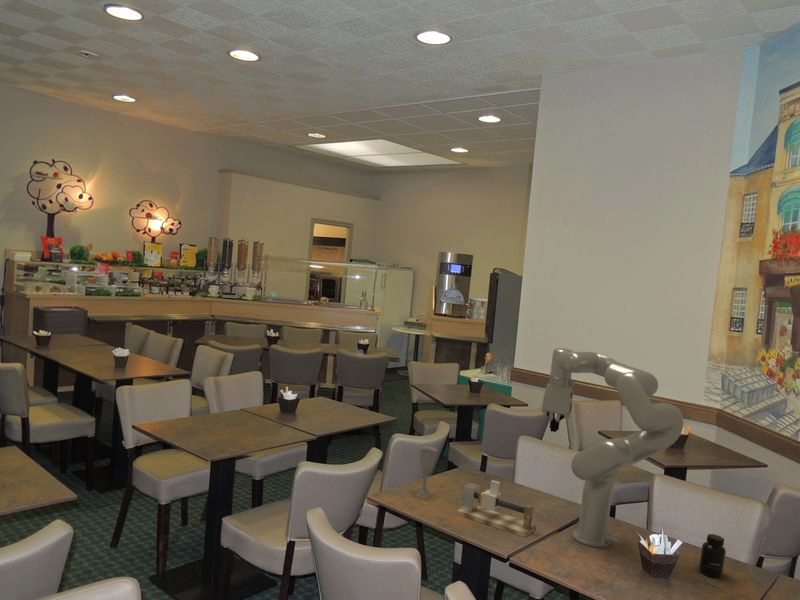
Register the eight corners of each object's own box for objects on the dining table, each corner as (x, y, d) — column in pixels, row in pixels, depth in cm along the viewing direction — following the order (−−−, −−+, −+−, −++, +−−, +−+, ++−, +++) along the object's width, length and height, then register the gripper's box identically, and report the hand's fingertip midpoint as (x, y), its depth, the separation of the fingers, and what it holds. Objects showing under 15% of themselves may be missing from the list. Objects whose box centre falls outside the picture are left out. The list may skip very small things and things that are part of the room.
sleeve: (499, 507, 227) (502, 481, 226) (493, 510, 223) (496, 484, 222) (486, 503, 230) (489, 477, 229) (480, 506, 225) (483, 480, 225)
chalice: (415, 490, 247) (420, 445, 246) (432, 493, 246) (437, 448, 245) (413, 497, 240) (418, 450, 239) (430, 500, 239) (436, 453, 238)
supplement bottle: (711, 579, 197) (716, 542, 197) (693, 569, 204) (698, 533, 203) (727, 577, 200) (732, 540, 199) (709, 567, 206) (714, 531, 206)
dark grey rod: (526, 513, 220) (527, 507, 220) (524, 514, 218) (525, 509, 218) (471, 495, 231) (472, 490, 231) (469, 497, 229) (470, 491, 229)
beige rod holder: (535, 528, 222) (538, 503, 222) (525, 537, 214) (528, 511, 213) (468, 506, 236) (471, 483, 235) (456, 514, 227) (459, 489, 227)
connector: (484, 510, 230) (487, 487, 229) (478, 514, 226) (481, 491, 225) (467, 505, 234) (470, 482, 233) (461, 508, 229) (464, 485, 229)
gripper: (583, 385, 232) (576, 434, 233) (543, 377, 240) (537, 425, 241) (577, 387, 225) (570, 437, 226) (536, 379, 233) (530, 428, 234)
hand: (553, 431), depth 234 cm, fingers closed
